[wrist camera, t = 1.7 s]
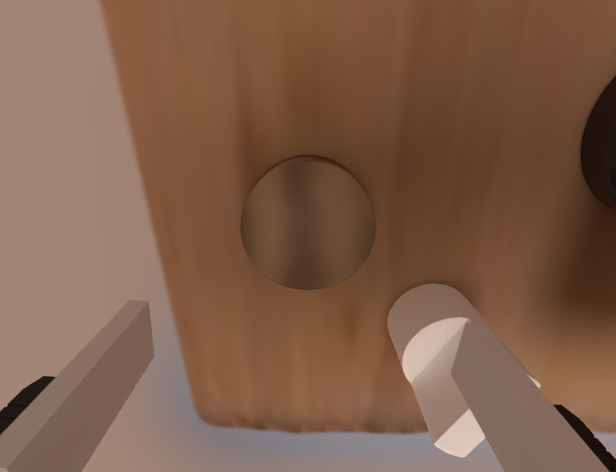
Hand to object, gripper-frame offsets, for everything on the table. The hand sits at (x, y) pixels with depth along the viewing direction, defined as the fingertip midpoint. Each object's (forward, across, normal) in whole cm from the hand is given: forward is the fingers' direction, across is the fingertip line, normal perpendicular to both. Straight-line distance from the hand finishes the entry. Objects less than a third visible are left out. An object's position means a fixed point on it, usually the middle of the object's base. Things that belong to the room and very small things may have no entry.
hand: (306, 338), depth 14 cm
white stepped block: (+19, -14, +11) cm, 26 cm away
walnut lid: (+19, 0, 0) cm, 19 cm away
